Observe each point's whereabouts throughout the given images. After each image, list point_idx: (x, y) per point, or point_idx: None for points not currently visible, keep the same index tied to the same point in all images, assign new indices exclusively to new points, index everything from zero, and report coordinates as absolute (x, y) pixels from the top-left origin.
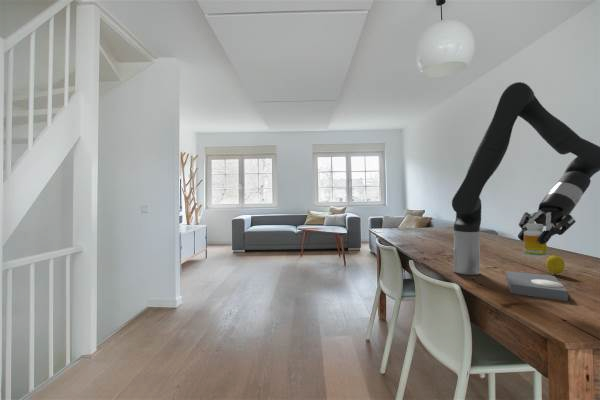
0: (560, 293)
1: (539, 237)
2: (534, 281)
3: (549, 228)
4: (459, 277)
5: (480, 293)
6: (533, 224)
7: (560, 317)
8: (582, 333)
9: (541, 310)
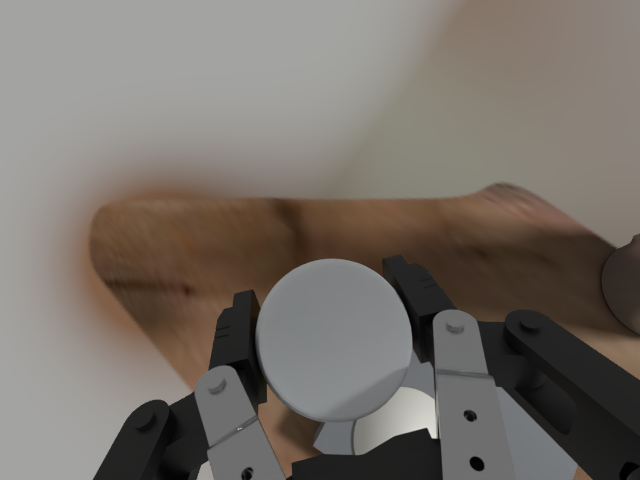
0: (324, 422)
1: (247, 302)
2: (424, 406)
3: (204, 390)
4: (562, 224)
5: (385, 200)
6: (305, 297)
7: (202, 295)
8: (120, 270)
9: (249, 283)
